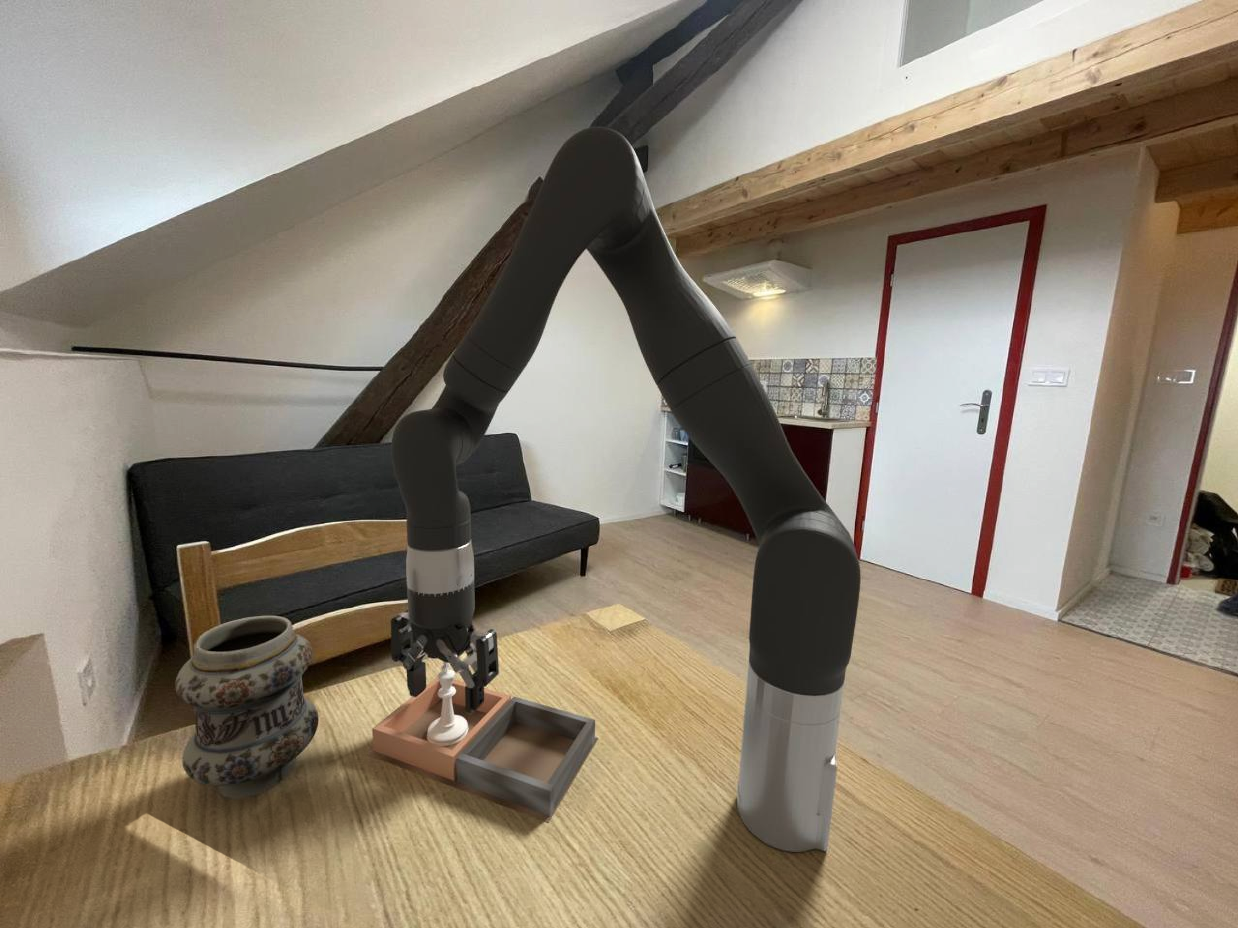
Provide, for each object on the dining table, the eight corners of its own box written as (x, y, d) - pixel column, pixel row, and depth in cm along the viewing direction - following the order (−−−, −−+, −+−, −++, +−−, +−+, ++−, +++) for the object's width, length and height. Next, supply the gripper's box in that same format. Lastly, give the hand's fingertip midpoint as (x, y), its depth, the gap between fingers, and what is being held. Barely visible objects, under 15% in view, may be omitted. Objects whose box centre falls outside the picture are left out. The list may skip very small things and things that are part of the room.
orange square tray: (511, 715, 66) (511, 695, 66) (453, 780, 56) (453, 756, 55) (440, 694, 70) (439, 674, 70) (373, 750, 60) (372, 728, 59)
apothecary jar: (330, 733, 64) (320, 601, 61) (309, 809, 53) (295, 653, 50) (215, 754, 60) (198, 614, 57) (166, 842, 49) (140, 674, 45)
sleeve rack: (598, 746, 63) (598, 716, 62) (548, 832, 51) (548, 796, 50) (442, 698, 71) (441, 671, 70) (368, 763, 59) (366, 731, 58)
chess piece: (474, 721, 65) (473, 650, 63) (458, 748, 60) (456, 673, 59) (438, 717, 66) (436, 647, 64) (419, 744, 61) (416, 669, 59)
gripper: (510, 576, 60) (511, 697, 63) (416, 557, 65) (420, 671, 68) (471, 601, 53) (474, 737, 56) (369, 579, 58) (376, 704, 61)
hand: (445, 701), depth 62 cm, fingers open, 8 cm apart
